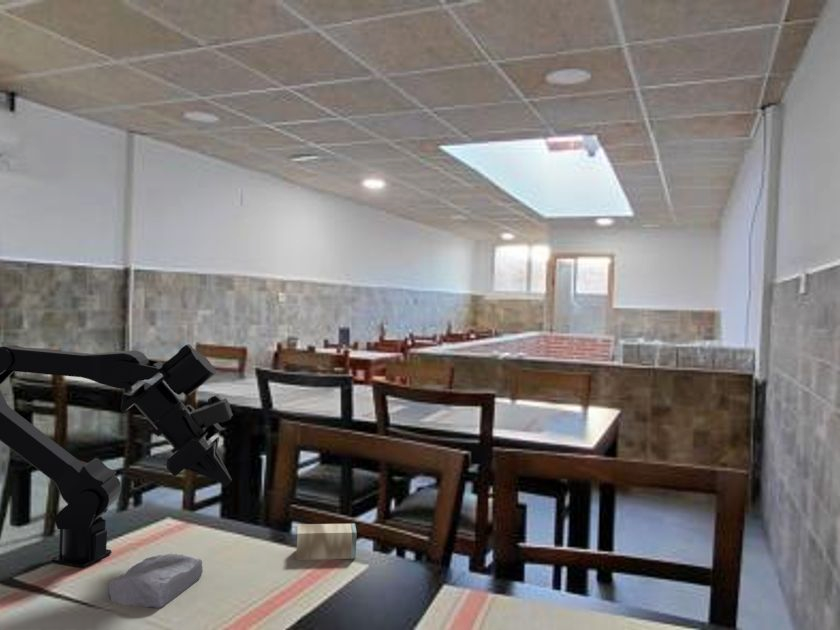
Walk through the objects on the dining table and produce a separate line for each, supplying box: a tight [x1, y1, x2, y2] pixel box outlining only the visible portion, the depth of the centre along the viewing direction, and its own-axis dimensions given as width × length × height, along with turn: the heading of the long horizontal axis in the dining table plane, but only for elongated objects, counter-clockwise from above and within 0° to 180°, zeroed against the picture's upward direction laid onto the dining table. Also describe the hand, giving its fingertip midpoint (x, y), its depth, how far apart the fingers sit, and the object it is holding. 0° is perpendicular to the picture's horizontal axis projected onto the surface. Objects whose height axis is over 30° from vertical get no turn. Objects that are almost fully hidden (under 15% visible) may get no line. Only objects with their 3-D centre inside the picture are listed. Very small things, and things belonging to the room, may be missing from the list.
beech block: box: [296, 523, 358, 561], centre depth 112 cm, size 4×4×10 cm
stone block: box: [108, 552, 203, 609], centre depth 97 cm, size 12×5×10 cm
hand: (229, 482), depth 109 cm, fingers closed
